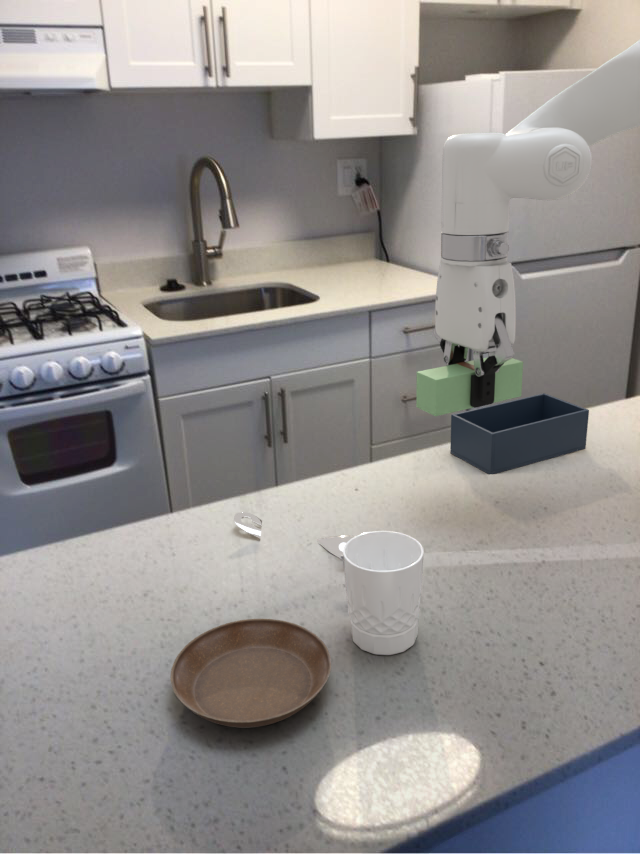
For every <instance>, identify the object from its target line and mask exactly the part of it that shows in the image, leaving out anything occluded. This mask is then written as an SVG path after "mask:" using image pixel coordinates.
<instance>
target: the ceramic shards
mask: <svg viewBox="0 0 640 854" xmlns="http://www.w3.org/2000/svg"><path fill="white" fill-rule="evenodd" d="M242 519H249V520H250V521H251V522H252V524H251V523H245V522H243V521H242ZM233 523H234V525H236V527H238V528H239V529H240V530H242V531H244V532H245V533H247V534H248V535H251V536H253V537H256V538H258V539H261V536H262V526H263V519H262V518H260V517H258V516H257V515H255V514H253V513H250V512H246V511H242V512H241V511H240V512H236V513H235V514H234V516H233ZM253 524H255V525H257V526H258V527H257V526H255V525H253ZM260 527H261V528H260ZM355 536H356V535H355ZM355 536H354V535H352V534H337V535H332V536H326V537H325V536H324V537H318V538H316V540H315V541H316V543H317V544H318V545H320V546H322V547H323V548H324V549H325V550H326V551H327V552H329V553H330V554H332V555H334V556H335V557H337V558H339V559H341V560H343V548H344V546H345V544H346V543H347V542H348V541H349V540H350V539H352V538H353V537H355Z"/></svg>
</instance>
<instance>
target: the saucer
mask: <svg viewBox="0 0 640 854" xmlns="http://www.w3.org/2000/svg"><path fill="white" fill-rule="evenodd" d="M329 651H330V650H329V649H328V647H327V646H326V644H325V643H324V641H323V640H322V639H321V638H320V637H319V636H318V635H317V634H315V633H314V632H313V631H311V630H309V629H307V628H306V627H303V626H301V625H300V624H296V623H294V622H290V621H286V620H281V619H274V618H247V619H240V620H239V619H238V620H235V621H229V622H227V623H224V624H220V625H218V626H215V627H212V628H211V629H208V630H206V631H204V632H203V633H201V634H199V635H198V636H196V637H194V638H193V639H192V640H190V641H189V642H188V643H187V644H186V645H185V646H184V647H183V648H182V649H181V650H180V651H179V653H178V654H177V656H176V657H175V659H174V661H173V664H172V666H171V670H170V676H169V678H170V679H169V680H170V685H171V688H172V691H173V693H174V695H175V697H176V698H177V699H178V701H180V702H181V704H183V705H184V706H185V707H186V708H187V709H188V710H189V711H191V712H192V713H193V714H195V715H197V716H199V717H200V718H202V719H204V720H206V721H209V722H211V723H213V724H217V725H221V726H225V727H230V728H240V729H249V728H260V727H266V726H269V725H272V724H276V723H278V722H280V721H284V720H286V719H288V718H290V717H292V716H293V715H296V714H297V713H298V712H300V711H301V710H303V709H304V708H306V706H308V705H310V703H311V702H312V701H314V699H315V698H316V697H317V696H318V695H319V694H320V692H321V691H322V690H323V688H324V687H325V685H326V683H327V682H328V680H329V678H330V675H331V671H332V659H331V658H332V657H331V654H330V652H329Z"/></svg>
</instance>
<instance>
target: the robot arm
mask: <svg viewBox="0 0 640 854" xmlns="http://www.w3.org/2000/svg"><path fill="white" fill-rule="evenodd" d="M636 128H640V39H638V40H637V41H636V42H634V43H633V44H632V45H630V46H629V47H628V48H626V49H624V50H623V51H621V52H620V53H618V54H617V55H615V56H614V57H612V58H610V59H608V60H607V61H606V62H604V63H603V64H601V65H600V66H598V67H597V68H596V69H594V70H593V71H591V72H590V73H588V74H586V75H585V76H584V77H582V78H580V79H579V80H577V81H576V82H574V83H572V84H571V85H568V87H566V88H564V89H563V90H562V91H560V92H559V93H557V94H556V95H554V96H553V97H552V98H550V99H548V100H547V101H546V102H544V103H543V104H542V105H540V106H539V107H538V108H537V109H536V110H534V111H532V113H530V114H529V115H528V116H526V117H525V118H524V119H522V120H521V121H520V122H519V123H518V124H517V125H515V126H514V127H513V128H511V129H510V130H509V131H508V132H506V133H502V132H498V131H497V132H493V131H491V132H469V133H459V134H458V133H457V134H453V135H451V136H449V137H448V138H447V139H446V140H445V142H444V144H443V148H442V161H441V164H442V165H441V167H442V168H441V169H442V170H441V171H442V172H441V222H440V223H441V225H440V226H441V228H440V230H441V231H440V232H441V234H440V262H439V268H438V272H437V273H438V274H437V279H436V290H435V303H434V324H435V325H434V328H433V331H432V333H433V336H434V337H435V339H436V340H437V342H438V343H439V347H440V349H441V351H442V353H443V356H442V361H443V364H445V366H448V365H453V364H457V363H461V362H468V361H467V358H468V354H469V350H472V358H473V360H474V370H475V375H471V391H470V405H471V406H472V407H474V409H477V408H482V407H486V406H490V405H493V404H494V403H493V402H494V394H495V373H498V372H499V369H500V367H501V366H502V365H503V364H504V362H507V361H508V360H510V359H512V358H513V359H514V357H515V351H514V348H513V345H514V344H515V341H516V326H517V325H516V324H517V309H516V307H517V305H516V301H517V300H516V288H515V287H516V285H515V277H514V271H513V265H512V262H511V261H508V257H509V256H508V255H509V250H510V244H509V235H510V234H509V233H510V231H509V230H510V212H511V211H510V210H511V200H512V199H527V200H535V201H537V200H538V201H558V200H561V199H564V198H567V197H569V196H571V195H573V194H574V193H576V192H577V191H578V190H579V189H581V188H582V187H583V185H584V184H585V183H586V181H587V180H588V178H589V176H590V174H591V170H592V165H593V155H592V151H591V147H593V146H594V145H596V144H598V143H600V142H601V141H604V140H606V139H608V138H610V137H612V136H616V135H617V134H620V133H623V132H627V131H629V130H633V129H636ZM486 354H487V356H488V357H486V358H487V359H486V360H485V361H484V360H483V358H484V355H486Z"/></svg>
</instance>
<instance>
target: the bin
mask: <svg viewBox="0 0 640 854" xmlns="http://www.w3.org/2000/svg"><path fill="white" fill-rule="evenodd" d="M450 414H451V415H450V449H449V450H450V451H449V453H450V454H451V455H453V456H454V457H456V458H458V459H460V460H461V461H464V462H466V463H467V464H469V465H471V466H472V467H474V468H476V469H478V470H480V471H482V472H484V473H486V474H487V475H497V474H500V473H505V472H507V471H511V470H515V469H519V468H521V467H525V466H528V465H533V464H536V463H539V462H543V461H547V460H551V459H554V458H557V457H561V456H565V455H568V454H571V453H575V452H578V451H579V452H580V451H582V450H586V447H587V439H588V438H587V437H588V427H589V426H588V425H589V417H590V415H589V414H590V409H588V408H585V407H583V406H580V405H578V404H574V403H572V402H570V401H567V400H564V399H561V398H559V397H555V396H554V395H551V394H548V393H545V392H543V393H542V392H541V393H539V394H533V395H530V396H526V397H521V398H515V399H512V400H508V401H504V402H503V401H502V402H498V403H496V404H489V405H485V406H481V407H477V408H474V409H473V408H472V409H468V410H463V411H460V412H455V413H450Z"/></svg>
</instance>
